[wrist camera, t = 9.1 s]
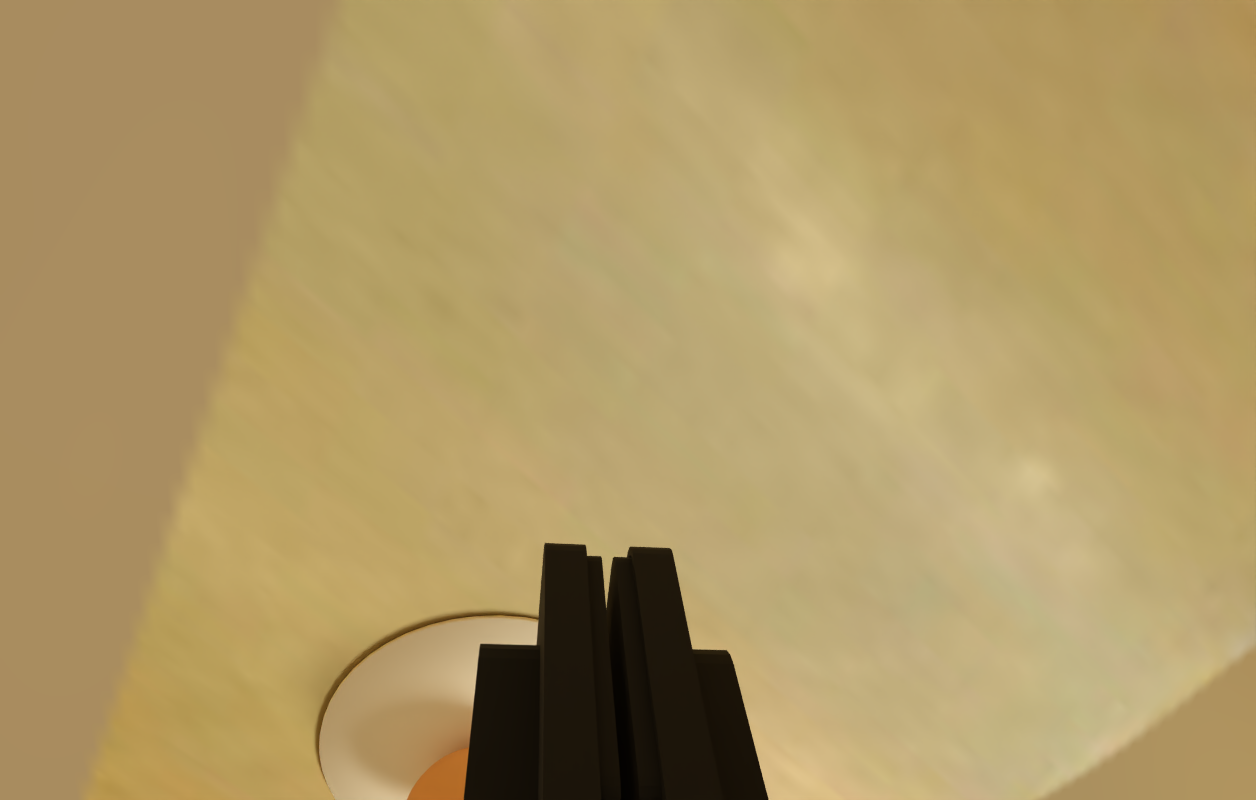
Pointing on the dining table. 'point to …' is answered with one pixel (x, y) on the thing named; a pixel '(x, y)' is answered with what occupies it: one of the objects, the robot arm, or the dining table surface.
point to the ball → (443, 779)
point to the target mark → (408, 706)
